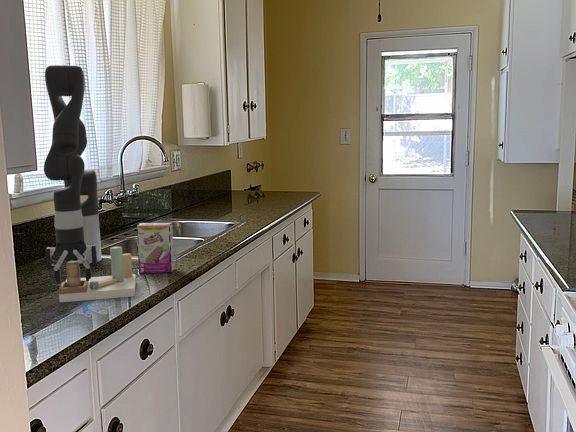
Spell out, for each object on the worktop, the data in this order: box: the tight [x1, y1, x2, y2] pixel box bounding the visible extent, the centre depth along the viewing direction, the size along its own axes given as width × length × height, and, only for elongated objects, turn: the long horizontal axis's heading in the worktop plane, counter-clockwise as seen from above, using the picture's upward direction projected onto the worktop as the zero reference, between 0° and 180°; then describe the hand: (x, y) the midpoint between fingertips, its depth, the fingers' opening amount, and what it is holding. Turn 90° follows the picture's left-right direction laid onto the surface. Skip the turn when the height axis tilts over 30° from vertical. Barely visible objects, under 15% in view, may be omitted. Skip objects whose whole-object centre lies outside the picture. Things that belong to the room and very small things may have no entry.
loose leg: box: [65, 261, 81, 287], centre depth 167 cm, size 4×4×8 cm
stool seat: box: [58, 253, 137, 303], centre depth 173 cm, size 16×21×9 cm
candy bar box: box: [136, 222, 175, 274], centre depth 194 cm, size 11×5×16 cm, turn 92°
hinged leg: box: [89, 246, 124, 289], centre depth 172 cm, size 12×3×10 cm, turn 148°
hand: (73, 281), depth 167 cm, fingers open, 7 cm apart
